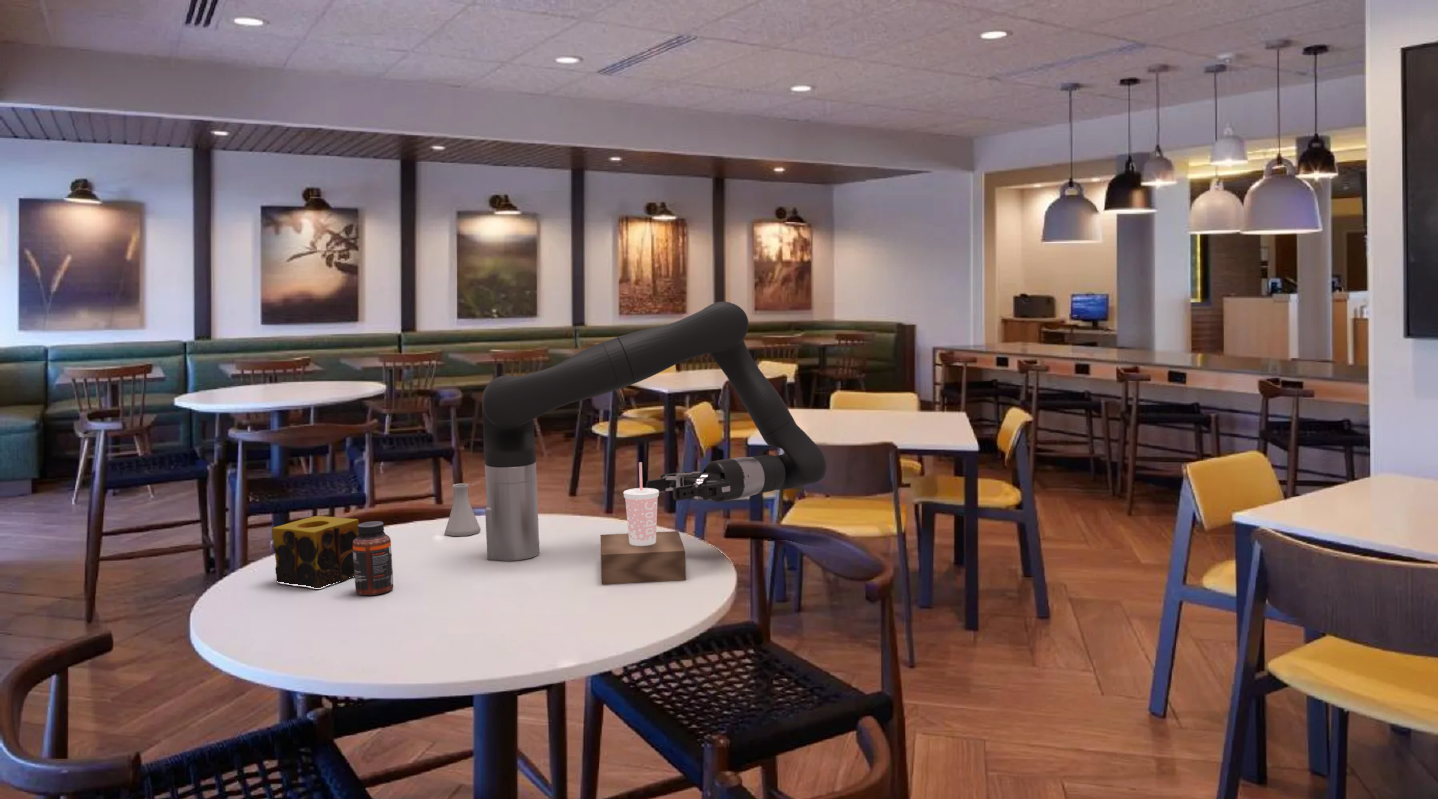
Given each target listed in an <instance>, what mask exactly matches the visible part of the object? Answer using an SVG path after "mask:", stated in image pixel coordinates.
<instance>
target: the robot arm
mask: <svg viewBox="0 0 1438 799" xmlns="http://www.w3.org/2000/svg"><path fill="white" fill-rule="evenodd" d="M748 318H749V317H748V315H747V313H746V312H745V311H744V309H743V308H742V307H740V306H739V305H738V304H735V303H732V302H729V301H717V302H713V303H712V304H710V305H708V306H706V307H704V308H703V309H701V310H699V311H696V312H695V313H693V314H691V315H688V316H686V317H684V318H681V319H680V320H677V321H674V322H671V323H669V324H665V325H660V326H655V327H651V328H645V329H642V330H638V331H637V330H636V331H634V332H630V333H627V334H623V335H620V336H617V337H613V338H612V339H608V340H606V341H603V342H600V343H597V344H594V345H593V346H592V345H591V346H590V347H587V348H585V349H583V350H582V351H581V350H580V352H577V353H576V354H574V355H572V356H571V357H568V358H567V359H565V360H563V361H561V362H559V363H557V364H555V365H553V366H550V367H548V368H545V369H540V370H537V371H534V372H530V373H526V374H523V375H517V376H515V375H510V374H509V375H507V374H505V375H500V376H497V377H495V378H493V379H492V380H490V381H489V382H488V383H487V384H486V387H484V390H483V393H482V395H481V396H482V398H481V410H482V411H481V412H482V430H483V455H484V473H485V493H486V494H485V495H486V497H485V498H486V499H485V500H486V507H485V509H484V513H485V536H486V538H485V539H486V554H487V555H486V557H487V558H486V559H487V560H496V561H505V562H506V561H521V560H527V559H530V558H534V557H536V556H539V555H540V532H539V508H538V506H539V505H538V504H539V503H538V479H537V478H538V477H537V474H538V473H537V456H536V454H537V453H536V441H535V440H536V439H535V424H534V420H535V419H537V418H539V417H540V416H543V415H545V414H548V413H549V412H552V411H554V410H556V409H558V408H561V407H563V406H566V405H569V404H572V403H576V402H581V401H584V400H587V399H592V398H595V397H598V396H602V395H605V394H608V393H612V392H614V391H618V390H621V389H623V388H626V387H629V386H631V385H634V384H637V383H640V382H642V381H644V380H647V379H649V378H651V377H653V376H655V375H658V374H660V373H662V372H663V371H665V370H667V369H670V368H672V367H673V366H675V365H677V364H680V363H682V362H684V361H686V360H690V359H692V358H696V357H700V356H704V355H707V354H708V355H710V356H711V358H712V359H713V361H714V362H715V363H716V364H717V366H718V367H719V368H720V369H721V371H722V372H723V374H724V375H725V377H726V378H727V379H728V381H729V382H730V383H731V385H732V387H733V388H734V390H735V392H736V393H737V396H738V397H739V399H740V400H741V403H742V404H743V405H744V408H745V409H746V411H747V413H748V415H749V417H750V418H751V421H752V422H753V423H754V425H755V428H757V430H758V432H759V433H760V436H761V437H762V440H763V441H764V442H765V444H766V445H767V446H769V447H770V448H771V447H772V448H779V449H781V450H782V451H783V452H784V453H783V454H779V455H772V454H764V455H763V454H761V455H756V456H749V457H748V456H739V457H738V456H737V457H732V458H727V459H726V458H725V459H718V460H713V461H710V462H708V463H707V464H706V465H705V467H704V469H703V470H702V471H692V472H690V471H687V470H684V471H680V472H673V473H662V474H660V478H655V479H649V480H647V481H645V488H652V489H657V490H659V493H660V492H668V491H669V492H670V491H672V498H673V500H674V501H682V500H689V499H693V500H694V499H695V500H699V499H702V500H703V501H708V500H711V501H713V502H714V503H715V502H716V503H721V502H728V501H733V500H739V499H744V498H749V497H751V496H754V495H758V494H764V493H765V494H766V493H770V492H772V491H781V490H782V491H784V490H791V489H796V488H800V487H804V486H807V485H812V484H815V483H817V482H818V483H819V482H820V481H821V480H823V479H824V477H825V476H826V472H827V461H826V458H825V455H824V454H823V452H822V450H821V448H820V447H819V446H818V445H817V444H816V443H815V441H813V440H812V439H811V438H810V436H809V435H808V434H807V433H806V432H805V431H804V430H803V429H802V428H801V427H800V426H799V425H798V424H797V423H796V421H795V419H794V417H793V416H792V414H791V412H790V410H789V408H788V407H787V405H786V403H785V402H784V399H783V398H782V397H781V395H780V394H779V392H778V391H777V389H775V387H774V386H773V384H772V383H771V382H770V381H769V379H768V378H767V377H766V376H765V375H764V373H763V372H762V371H761V368H759V367H758V365H757V364H756V362H755V361H754V359H753V357H752V355H751V353H750V352H749V350H748V348H747V346H746V343H745V341H744V339H745V337H746V336H747V333H748V330H749V326H750V325H749V319H748Z"/></svg>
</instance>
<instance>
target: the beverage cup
mask: <svg viewBox="0 0 1438 799" xmlns="http://www.w3.org/2000/svg"><path fill="white" fill-rule="evenodd" d="M638 469H639V471H638V472H639V487H637V488H636V487H635V488H629V489H626V490H624V491H623V498H624V499H625V508H626V509H625V510H626V521H627V533H628V534H629V543H630V544H631V545H635V546H647V545H652V544H655V543H656V532H657V527H658V526H657V524H658V522H657V521H658V519H657V518H658V499H659V498H658V497H659V496H660V495H659V494H660V492H659V490H657V489H652V488H646V487H643V462H641V461H640V462H638Z"/></svg>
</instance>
